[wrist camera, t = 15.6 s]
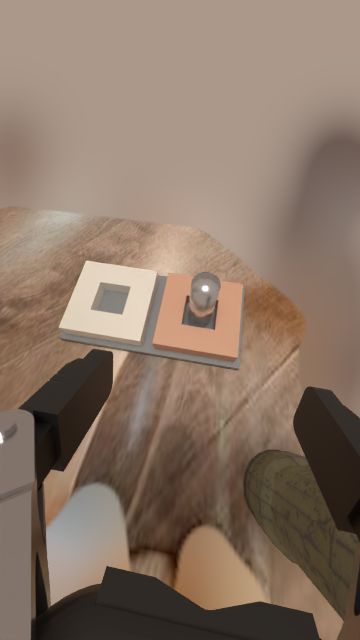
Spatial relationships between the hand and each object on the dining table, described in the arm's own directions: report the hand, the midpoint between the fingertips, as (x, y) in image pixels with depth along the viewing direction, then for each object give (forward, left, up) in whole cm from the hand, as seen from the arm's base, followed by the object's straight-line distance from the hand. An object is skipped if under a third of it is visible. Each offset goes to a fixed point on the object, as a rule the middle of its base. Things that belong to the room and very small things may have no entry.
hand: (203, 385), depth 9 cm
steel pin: (0, +14, -24) cm, 27 cm away
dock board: (-7, +14, -25) cm, 29 cm away
